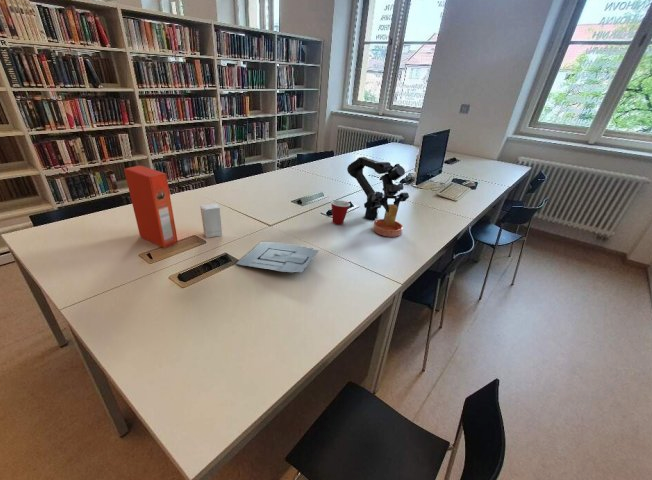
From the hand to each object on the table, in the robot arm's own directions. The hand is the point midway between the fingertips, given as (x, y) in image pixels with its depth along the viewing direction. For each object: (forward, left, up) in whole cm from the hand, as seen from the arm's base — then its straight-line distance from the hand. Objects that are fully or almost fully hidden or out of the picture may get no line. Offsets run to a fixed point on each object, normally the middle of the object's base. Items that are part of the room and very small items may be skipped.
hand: (392, 212), depth 167 cm
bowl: (-1, +1, -12) cm, 12 cm away
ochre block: (-1, +1, -7) cm, 7 cm away
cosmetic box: (-76, -52, -12) cm, 93 cm away
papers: (-36, -57, -12) cm, 68 cm away
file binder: (-93, -69, -12) cm, 117 cm away
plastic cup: (-28, -3, -12) cm, 30 cm away
